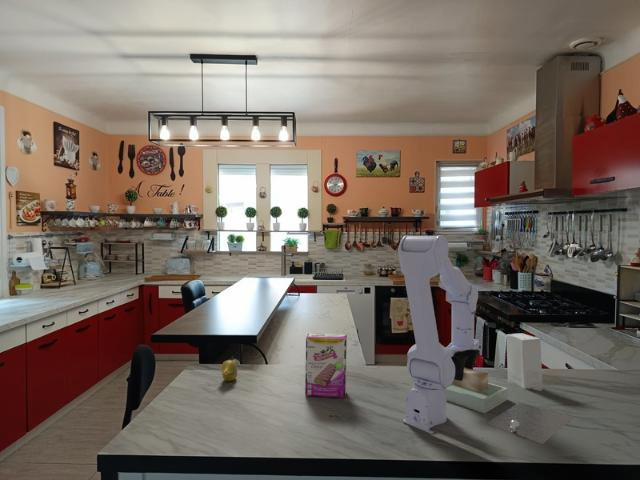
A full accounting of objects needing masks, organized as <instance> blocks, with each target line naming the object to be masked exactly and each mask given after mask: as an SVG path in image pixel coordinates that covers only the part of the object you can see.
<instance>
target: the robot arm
mask: <svg viewBox="0 0 640 480" xmlns="http://www.w3.org/2000/svg"><path fill="white" fill-rule="evenodd" d="M398 245H399V246H398V248H397V255H398V260H399V265H400V270H401V271H400V272H401V273H402V274H403V275H404V277H403V278H404V284H405V288H406V294H407V300H408V301H407V302H408V306H409V312H410V317H411V323H412V328H413V329H412V330H413V334H414V340H415V344H413V345H412V346H411V347H410V348H409V350H408V352H407V354H406V355H407V363H406V369H407V370H406V371H407V373H408V375H409V377H410V378H412V379H411V381H412V383H414V385H413V387H412V388H411V389H410V390H409V391H408V392H407V393H406V394H407V395H406V398H405V399H406V400H405V401H406V402H405V404H406V405H405V409H406V411H405V414H406V415H405V418H403V419H402V421H403V423H405V424H407V425H409V426H412V427H415V428H417V429H419V430H422V432H423V431H424V432H426V433H428V434H431V435H432V434H435V433H437V431H436V430H434V429H432V428H433V427H435V426H437V425H442V424H445V422H447V409H448V408H447V407H448V405H447V403H448V401H447V387H448V386H449V385H450V384H451V383H452V382H453V380H454V379H456V380H459V381H462V379H463V374H464V367H465V368H469V369H473V370H474V367H475V363H476V361H477V359H478V357H479V356H480V354H481V353H480V352H481V351H480V350H479V348H480V339H477V338H476V339H475V312H476V310H477V302H478V299H479V291H478V287H477V286H476V285H474V283H470V282H469V281H468V279H467V278H466V276H465V275H464V274H463V272H462V270H461V269H460V268H459V267H458V266H453V263H452V261H451V259H450V257H449V250H450V249H449V242H448V239H446V237H445V236H444V235H443V234H438V235H408V234H407V235H404V236H403V237H402V238H401V240H400V242H399V244H398ZM439 274H440V275H439ZM438 275H439V282H440V283H441V285H443V287H444V288H445V290H446V291H445V292H446V295H447V300H448V302H450V303H451V342H450V343H449V344H448V345H447V346H446V347H445V346H444V345H442V344H441V342H439V341H440V340H439V333H438V329H437V322H436V321H437V320H436V316H435V310H434V308H435V307H434V303H433V302H434V301H433V295H432V291H431V290H432V289H431V283H430V280H431V278H434V277H436V276H438Z"/></svg>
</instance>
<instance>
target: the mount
mask: <svg viewBox="0 0 640 480" xmlns="http://www.w3.org/2000/svg"><path fill="white" fill-rule="evenodd" d="M571 420H573V417H570V416H566V415H562V414H561V413H557V412H554V411H550V410H547V409H543V408H540V407H537V406H534V405H530V404H527V403H524V402H522V401H520V402H518V403H516V404H514V405H513V406H511V407H510V408H508V409H506V410H505V411H503V412H502V413H500V414H498V415H497V416H495V417H493V418H492V419H490V420H489V421H487V422H485V423H486V424H487V425H489V426H492V427H495V428H498V429H499V430H503V431H506V432H509V433H510V434H514V435H517V436H520V437H522V438H524V439H528V440H530V441H533V442H537V443H538V444H542V445H543V444H545V443H546V442H547V441H548V440H549V439H550V438H551V437H553V436H554V435H555V434H556V433H557V432H558V431H560V430H561V429H562V428H563V427H564V426H565V425H567V423H569V422H570V421H571Z"/></svg>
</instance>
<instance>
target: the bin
mask: <svg viewBox="0 0 640 480" xmlns="http://www.w3.org/2000/svg"><path fill="white" fill-rule="evenodd" d="M508 388H509V387H505V386H501V385H498V384H495V383H491V382H488V389H486V390H484V391H482V392H478V391H474V390H471V389H467V388H464V387H460V386H457V385H453V384H450V385H449V386H448V387H447V402H450V403H454V404H456V405H459V406H462V407H465V408H467V409H470V410H474V411H476V412H480V413H482V414H486V413H488V412H489V411H492V410H493V409H495V408H496V407H499V406H500V405H501V404H503V403H504V402H507V401H508V400H509V398H508V397H509V395H508V394H509V389H508Z"/></svg>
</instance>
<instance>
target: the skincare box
mask: <svg viewBox="0 0 640 480" xmlns="http://www.w3.org/2000/svg"><path fill="white" fill-rule="evenodd" d="M541 346H542V345H541V338H540V337H536V336H532V335H530V334H529V335H528V334H525V333H520V332H519V333H508V334H506V359H507V360H506V363H507V383H508V384H512V385H516V386H518V387H521V388H522V389H524V390H529V389H530V390H534V391H538V392H543V388H544V387H543V369H542V366H543V365H542V349H541V348H542V347H541Z"/></svg>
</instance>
